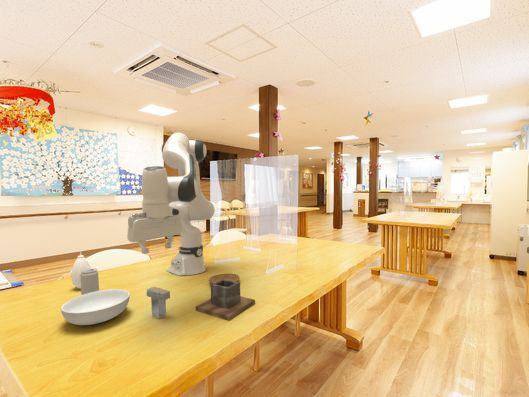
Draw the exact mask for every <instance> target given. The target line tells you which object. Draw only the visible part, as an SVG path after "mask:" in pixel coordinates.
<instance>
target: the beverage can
mask: <svg viewBox="0 0 529 397" xmlns="http://www.w3.org/2000/svg"><path fill="white" fill-rule="evenodd" d="M80 277H81V289H80V292H81V295H84V294H87V293H91V292H95V291H100V285H99V283H100V281H99V271H98V268H91V269H86V270H83V271H81V275H80ZM81 295H80V296H81Z"/></svg>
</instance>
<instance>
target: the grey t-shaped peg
mask: <svg viewBox="0 0 529 397" xmlns="http://www.w3.org/2000/svg"><path fill="white" fill-rule="evenodd" d="M146 297H149V298H150V299H151V300H150V301H151V304H150V305H151V317H152V318H155V319H158V320H160V319H163V318H165V317H166V316H167V305H166V304H167V300H169V299H171V291H170V290H167V289H164V288H159V287H156V286H151V287H149V288H147V289H146Z"/></svg>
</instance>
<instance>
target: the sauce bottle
mask: <svg viewBox="0 0 529 397" xmlns="http://www.w3.org/2000/svg"><path fill="white" fill-rule="evenodd" d="M86 269H92V268H91V265H90V263H89V261H88V260H87V258H85V255H83V254H82V250H81V249H80V250H79V255H78V256H77V258H76V259H75V261H74V263H73V265H72V268H71V282H72V284H73V285H74V287H76V288H77V289H80V290H81V277H80V275H81V271H83V270H86Z"/></svg>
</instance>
